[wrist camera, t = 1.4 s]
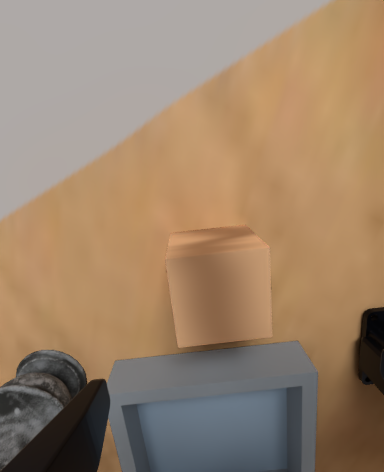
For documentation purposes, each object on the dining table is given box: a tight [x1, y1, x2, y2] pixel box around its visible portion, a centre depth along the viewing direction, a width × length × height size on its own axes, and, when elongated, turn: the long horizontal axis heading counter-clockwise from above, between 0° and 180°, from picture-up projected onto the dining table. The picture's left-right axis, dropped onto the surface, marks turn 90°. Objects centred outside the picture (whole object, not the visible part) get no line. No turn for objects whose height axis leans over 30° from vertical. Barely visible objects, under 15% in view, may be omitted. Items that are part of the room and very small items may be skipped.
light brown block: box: [165, 225, 272, 348], centre depth 15 cm, size 5×5×5 cm
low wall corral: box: [107, 341, 318, 472], centre depth 19 cm, size 14×14×3 cm
